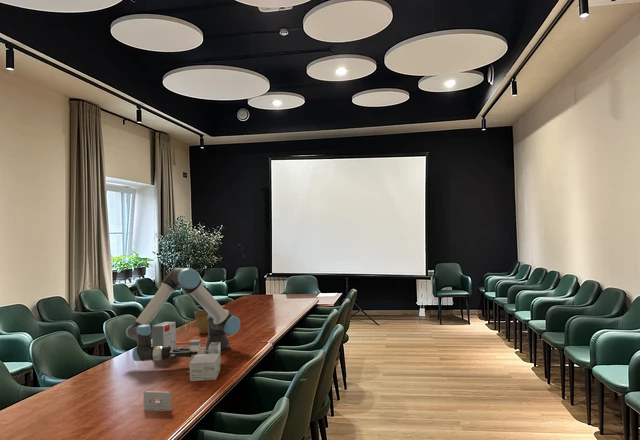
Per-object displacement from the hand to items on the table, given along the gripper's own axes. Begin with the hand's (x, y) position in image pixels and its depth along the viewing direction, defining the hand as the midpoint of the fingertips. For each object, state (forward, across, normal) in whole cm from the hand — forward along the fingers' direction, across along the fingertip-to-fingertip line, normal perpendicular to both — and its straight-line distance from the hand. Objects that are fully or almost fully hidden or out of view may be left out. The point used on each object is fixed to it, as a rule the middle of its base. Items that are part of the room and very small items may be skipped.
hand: (204, 351), depth 266 cm
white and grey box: (-3, 0, -7) cm, 8 cm away
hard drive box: (-29, -27, -9) cm, 41 cm away
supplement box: (+3, +18, -9) cm, 20 cm away
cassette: (-8, +65, -9) cm, 67 cm away
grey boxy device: (+4, 0, -8) cm, 9 cm away
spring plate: (+2, 0, -8) cm, 9 cm away
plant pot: (-17, -97, -9) cm, 99 cm away
